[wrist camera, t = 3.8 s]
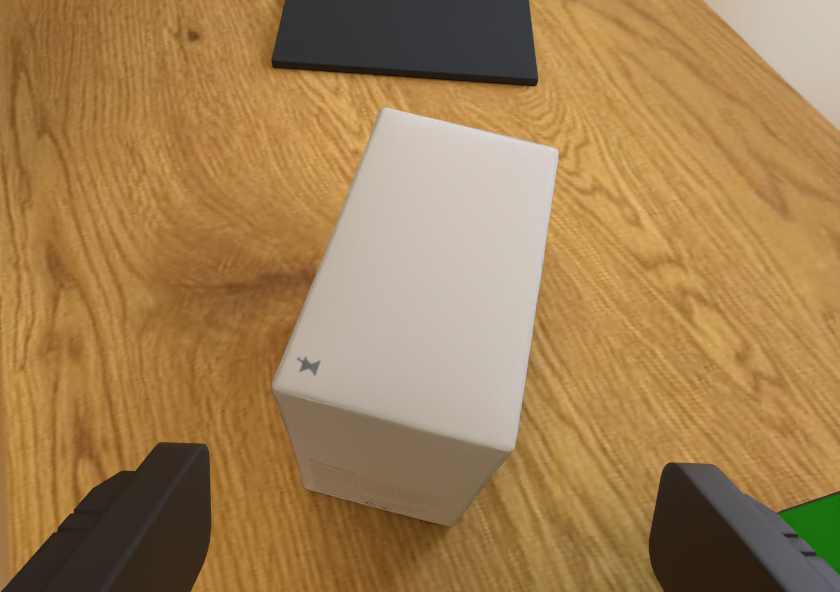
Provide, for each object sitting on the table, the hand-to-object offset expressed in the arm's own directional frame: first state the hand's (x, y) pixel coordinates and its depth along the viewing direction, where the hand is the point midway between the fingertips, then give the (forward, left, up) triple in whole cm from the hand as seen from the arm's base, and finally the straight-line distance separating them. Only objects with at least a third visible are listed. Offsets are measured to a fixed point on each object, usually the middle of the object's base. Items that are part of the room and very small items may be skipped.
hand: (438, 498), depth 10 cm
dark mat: (-1, +33, -13) cm, 36 cm away
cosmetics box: (0, +7, -13) cm, 15 cm away
